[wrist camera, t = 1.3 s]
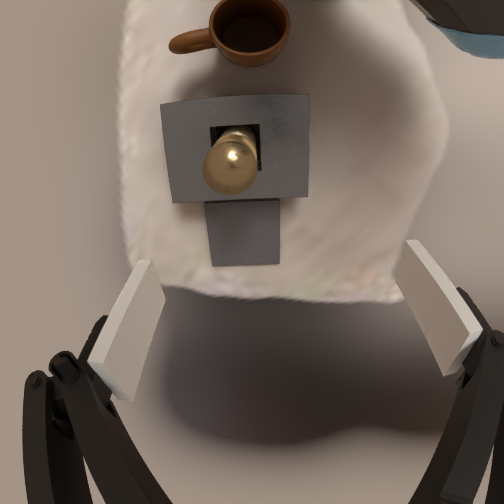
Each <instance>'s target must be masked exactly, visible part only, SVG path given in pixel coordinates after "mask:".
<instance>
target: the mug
mask: <svg viewBox="0 0 504 504" xmlns="http://www.w3.org/2000/svg"><path fill="white" fill-rule="evenodd" d="M289 31H290V18H289V15H288V12H287V10H286V9H285V7H284V6H283V5H282V4H281V3H280V2H279V1H278V0H222V1H221V2H219V3H218V4H217V6H216V7H215V8H214V10H213V11H212V13H211V16H210V20H209V28H205V29H199V30H194V31H189V32H186V33H183V34H180V35H178V36H176V37H174V38H173V39H172V40H171V41H170V43H169V50H170V51H171V52H172V53H175V54H187V53H192V52H197V51H201V50H205V49H210V48H218V49H219V50H220V51H221V52H222V53H223V55H224V56H225V57H226V58H227V59H228V60H230V61H231V62H233V63H235V64H237V65H240V66H245V67H255V66H260V65H263V64H266V63H268V62H270V61H271V60H272V59H274V58H275V57H276V56H277V54H278V53H279V52H280V50H281V49H282V47H283V46H284V44H285V43H286V41H287V38H288V35H289Z"/></svg>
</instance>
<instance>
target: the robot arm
mask: <svg viewBox="0 0 504 504" xmlns="http://www.w3.org/2000/svg"><path fill="white" fill-rule="evenodd" d="M409 1H410V2H412V3H413V4H414V5H415V6H416V7H417V8H418V9H419V10H420V11H421V12H422V13H423V14H424V15H425V17H426V19H427V20H428V21H429V22H430V23H431V24H432V25H434V26H435V27H437V28H438V29H439V30H440V31H441V32H442V33H443V34H444V35H445V36H446V37H447V38H448V39H449V40H450V41H451V42H452V43H453V44H454V45H455V46H456V47H457V48H459V49H460V50H462V51H464V52H467V53H469V54H471V55H473V56H476V57H481V58H487V59H504V0H409ZM396 283H397V285H398V286H399V288H400V290H401V292H402V294H403V295H404V297H405V299H406V301H407V303H408V304H409V306H410V308H411V310H412V312H413V314H414V316H415V317H416V320H417V321H418V323H419V325H420V327H421V329H422V331H423V333H424V335H425V337H426V339H427V341H428V343H429V345H430V348H431V350H432V352H433V354H434V356H435V358H436V361H437V363H438V365H439V367H440V370H441V371H442V374H443V376H446V375H449V374H452V373H455V372H457V370H458V369H459V367H460V366H461V365H462V364H463V366H464V368H465V370H464V371H463V373H462V374H461V375H460V377H459V378H458V379H457V381H456V383H455V384H458V382H459V381H460V383H459V387H458V390H457V393H456V397H455V400H454V403H453V406H452V409H451V412H450V415H449V418H448V421H447V423H446V426H445V429H444V431H443V434H442V436H441V439H440V441H439V444H438V446H437V448H436V451H435V453H434V455H433V457H432V460H431V462H430V464H429V466H428V468H427V470H426V472H425V474H424V476H423V478H422V480H421V482H420V484H419V485H418V487H417V489H416V491H415V493H414V495H413V496H412V498H411V500H410V502H409V503H408V504H473V500H474V498H475V495H476V493H477V491H478V488H479V486H480V483H481V481H482V478H483V475H484V472H485V470H486V467H487V464H488V461H489V458H490V455H491V451H492V448H493V445H494V450H493V459H492V466H491V474H490V480H489V486H488V491H487V495H486V500H485V504H504V334H503V333H502V332H500V331H498V330H492V329H491V327H490V326H489V325H488V323H487V321H486V320H485V318H484V317H483V315H482V314H481V312H480V311H479V309H477V306H476V305H475V304H474V303H473V301H472V299H471V298H470V297H469V295H468V294H467V293H466V292H465V291H464V290H462V289H461V288H460V287H458V288H455V287H454V286H453V284H452V283H451V281H450V280H449V279H448V278H447V276H446V275H445V273H444V272H443V271H442V270H441V268H439V266H438V264H437V263H436V262H435V261H434V259H433V258H432V257H431V256H430V255H429V253H428V252H427V251H426V250H425V248H424V247H423V246H422V245H421V244H420V242H419V241H418V240H417V239H416V240H405V244H404V249H403V254H402V259H401V263H400V268H399V272H398V276H397V280H396ZM165 300H166V299H165V296H164V293H163V291H162V288H161V285H160V282H159V279H158V276H157V273H156V271H155V268H154V265H153V262H152V259H148V260H139V261H138V262H137V264H136V266H135V268H134V270H133V271H132V273H131V275H130V277H129V279H128V280H127V282H126V284H125V286H124V288H123V289H122V291H121V293H120V295H119V297H118V299H117V301H116V303H115V305H114V306H113V309H112V311H111V312H110V314H109V315H103V316H102V317H101V318H100V319H99V320H98V321H97V322H96V323H95V325H94V327H93V329H92V331H91V332H92V333H90V335H89V337H88V340H87V341H86V343H85V345H84V347H83V349H82V352H81V353H80V356H79V358H78V360H77V359H76V358H75V356H74V355H73V354H72V353H71V352H69V351H62V352H59V353H57V354H56V355H55V356H54V357H53V358H52V359H51V361H50V363H49V371H50V372H51V373H52V375H53V377H48V376H47V375H46V374H45V373H44V372H43V371H40V370H37V371H35V372H32V373H31V374H30V375H29V376H28V378H27V379H26V382H25V389H24V401H23V425H22V426H23V428H22V429H23V430H22V431H23V432H22V434H23V435H22V436H23V438H22V441H23V464H24V476H25V485H26V492H27V500H28V504H93V501H92V497H91V493H90V489H89V485H88V480H87V476H86V471H85V466H84V460H83V456H84V459H85V461H86V464H87V465H88V468H89V470H90V472H91V475H92V477H93V479H94V481H95V483H96V485H97V487H98V489H99V491H100V493H101V495H102V497H103V499H104V501H105V503H106V504H173V503H172V502H171V501H170V499H169V498H168V497H167V495H166V494H165V492H164V491H163V490H162V488H161V487H160V485H159V484H158V482H157V481H156V479H155V478H154V476H153V475H152V473H151V471H150V470H149V468H148V467H147V465H146V464H145V462H144V461H143V459H142V457H141V455H140V454H139V452H138V450H137V449H136V447H135V445H134V443H133V441H132V440H131V438H130V436H129V434H128V432H127V430H126V428H125V426H124V425H123V423H122V421H121V419H120V417H119V415H118V413H117V410H116V408H115V406H114V404H113V402H112V401H111V400H110V397H111V394H112V393H113V394H114V395H115V396H116V398H117V399H119V400H126V401H133V400H134V396H135V393H136V389H137V385H138V382H139V379H140V376H141V372H142V369H143V366H144V363H145V359H146V357H147V353H148V350H149V347H150V344H151V341H152V338H153V335H154V332H155V329H156V326H157V323H158V320H159V317H160V314H161V312H162V309H163V306H164V303H165Z"/></svg>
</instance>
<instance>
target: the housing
mask: <svg viewBox="0 0 504 504" xmlns="http://www.w3.org/2000/svg"><path fill="white" fill-rule="evenodd" d="M160 111H161V120H162V129H163V138H164V146H165V154H166V161H167V168H168V175H169V182H170V188H171V195H172V201H173V203H185V202H199V201H215V200H233V199H256V198H288V197H308V175H309V94H257V95H237V96H223V97H212V98H202V99H194V100H186V101H179V102H172V103H166V104H160ZM244 124H259V134H260V159H261V161H257V176H256V179H255V181H254V182H253V184H252V185H251V186H250V187H249V188H248V189H247V190H246V191H244V192H242V193H240V194H236V195H223V194H220V193H218V192H216V191H214V190H213V189H211V188H210V187H209V186H208V184H207V183H206V181H205V179H204V177H203V172H202V165H203V161H204V158H205V157H206V155H207V154H208V152H209V151H210V150H211V148H212V147H213V146H214V144H215V143H216V142H217V138H216V126H227V125H244Z"/></svg>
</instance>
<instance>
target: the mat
mask: <svg viewBox="0 0 504 504" xmlns="http://www.w3.org/2000/svg"><path fill="white" fill-rule="evenodd" d="M204 205H205V213H206V221H207V229H208V236H209V243H210V251H211V258H212V265H213V266H230V265H259V264H280V200H279V198H277V199H249V200H228V201H210V202H205V204H204Z"/></svg>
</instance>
